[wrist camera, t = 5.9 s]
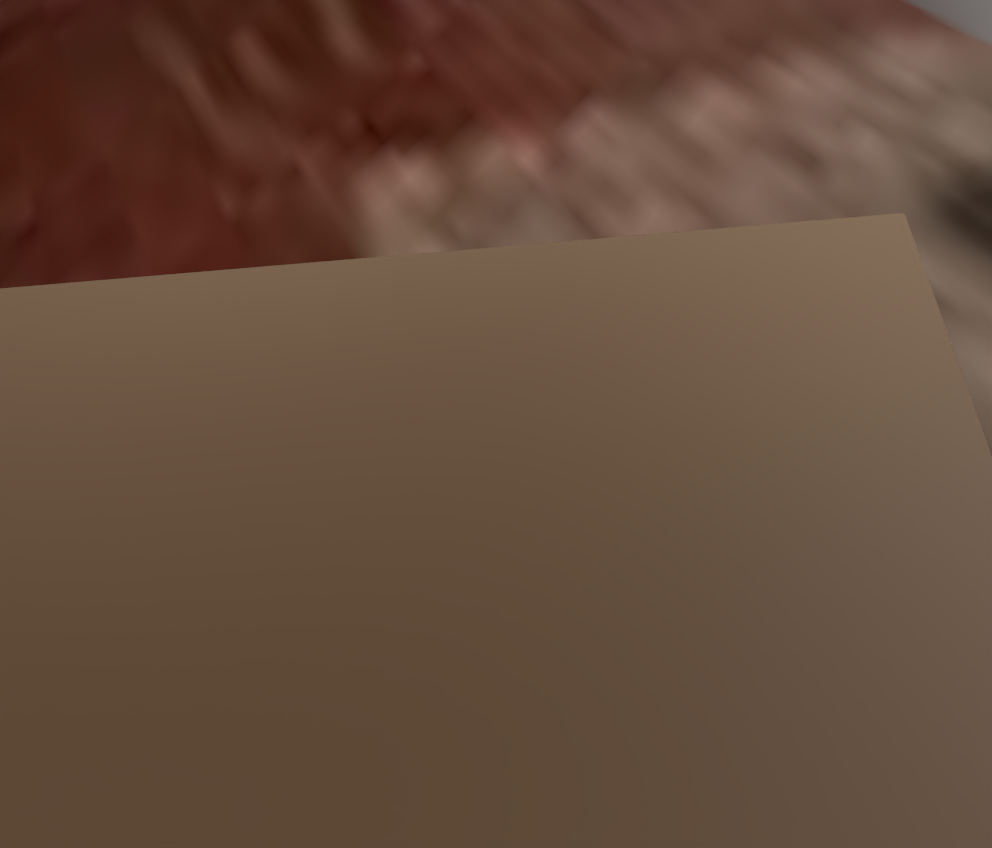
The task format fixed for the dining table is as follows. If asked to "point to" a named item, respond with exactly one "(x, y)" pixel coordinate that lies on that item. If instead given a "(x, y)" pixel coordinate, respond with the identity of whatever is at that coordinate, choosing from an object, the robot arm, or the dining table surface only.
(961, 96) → the dining table surface
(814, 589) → the walnut post
